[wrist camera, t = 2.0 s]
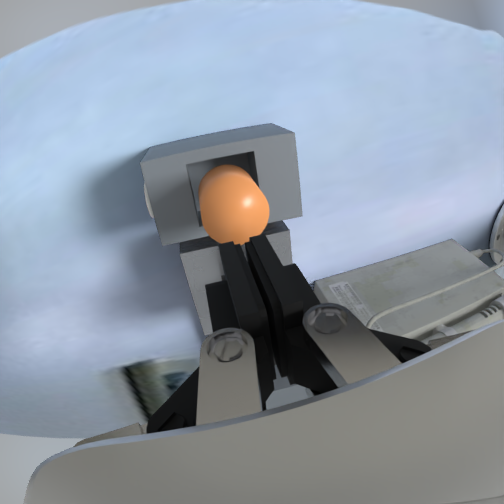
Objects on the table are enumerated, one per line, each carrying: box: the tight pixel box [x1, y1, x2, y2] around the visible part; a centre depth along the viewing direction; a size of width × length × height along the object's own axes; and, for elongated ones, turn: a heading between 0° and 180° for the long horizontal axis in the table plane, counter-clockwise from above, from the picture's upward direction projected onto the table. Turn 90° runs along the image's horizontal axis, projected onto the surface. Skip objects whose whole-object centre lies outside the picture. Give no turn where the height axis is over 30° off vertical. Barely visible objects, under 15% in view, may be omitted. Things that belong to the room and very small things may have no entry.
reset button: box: [198, 165, 269, 245], centre depth 19 cm, size 4×4×4 cm
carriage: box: [180, 220, 292, 365], centre depth 23 cm, size 8×8×10 cm
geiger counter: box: [314, 239, 504, 344], centre depth 29 cm, size 14×6×25 cm
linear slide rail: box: [140, 123, 309, 410], centre depth 29 cm, size 10×29×6 cm, turn 8°
